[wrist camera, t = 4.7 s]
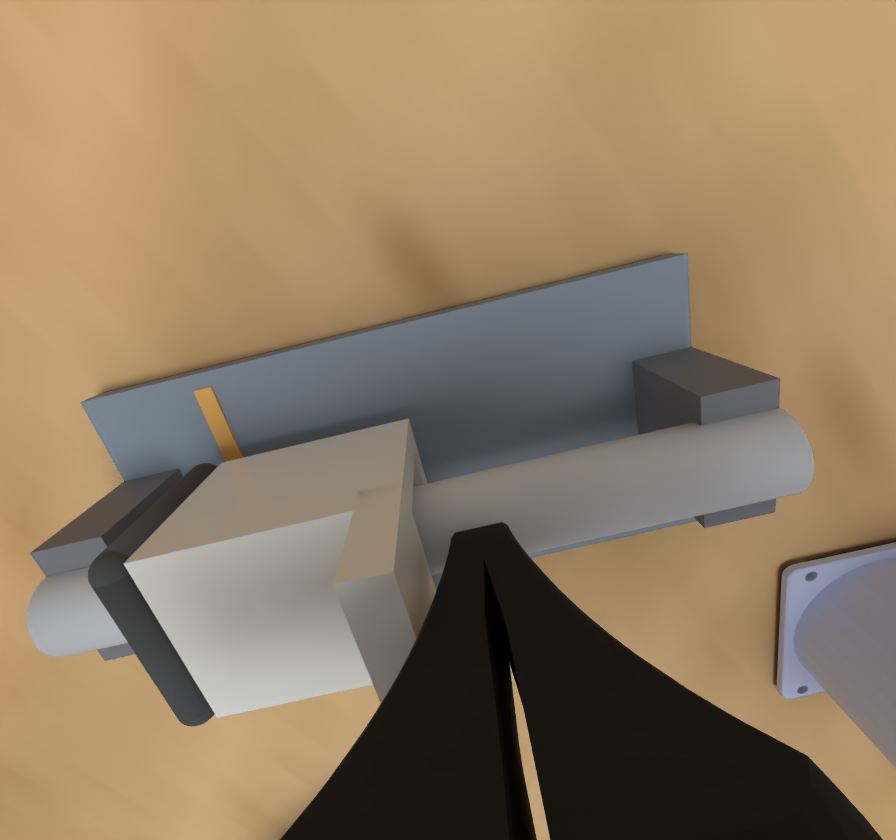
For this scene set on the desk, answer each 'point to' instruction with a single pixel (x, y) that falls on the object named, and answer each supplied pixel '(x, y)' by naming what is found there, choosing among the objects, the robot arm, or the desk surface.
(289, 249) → the desk surface
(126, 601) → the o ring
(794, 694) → the robot arm
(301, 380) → the pipe stand
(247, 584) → the sleeve
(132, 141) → the desk surface
